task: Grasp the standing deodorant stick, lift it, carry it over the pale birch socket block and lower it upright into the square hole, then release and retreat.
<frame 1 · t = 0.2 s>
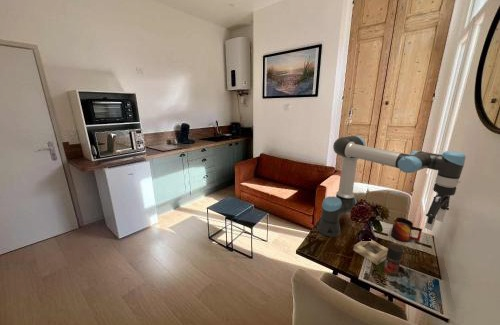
hand: (433, 224, 100), 27 cm above the table, fingers open, 13 cm apart
socket block: (371, 252, 120), on the table
deodorant: (390, 272, 107), on the table
mug: (402, 238, 134), on the table
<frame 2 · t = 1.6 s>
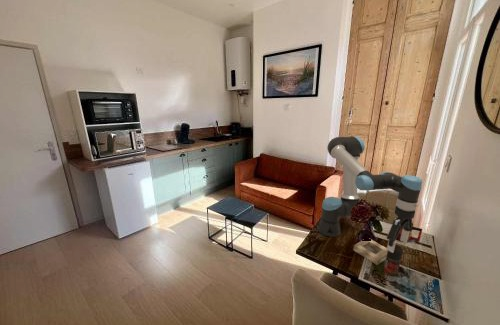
hand: (396, 246, 102), 16 cm above the table, fingers open, 13 cm apart
nothing on the table moved.
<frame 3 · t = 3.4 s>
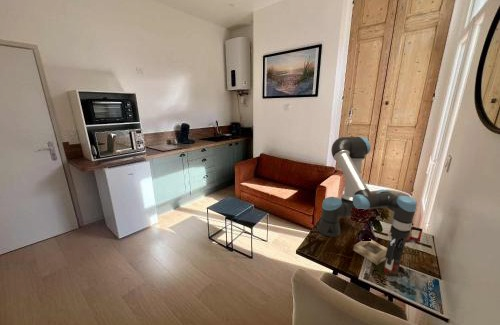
hand: (391, 265, 106), 4 cm above the table, fingers closed on deodorant, 6 cm apart
deodorant: (390, 272, 107), on the table, touching gripper
everything else where it was.
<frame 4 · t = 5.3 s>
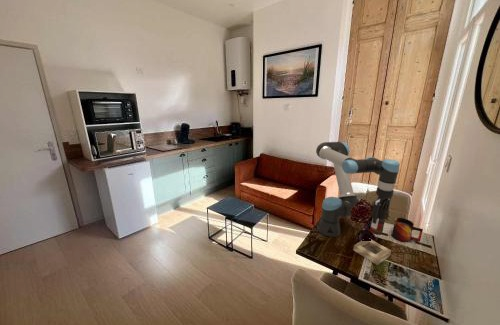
hand: (377, 225, 115), 18 cm above the table, fingers closed on deodorant, 6 cm apart
deodorant: (375, 232, 116), point 14 cm above the table, touching gripper
everything else where it was.
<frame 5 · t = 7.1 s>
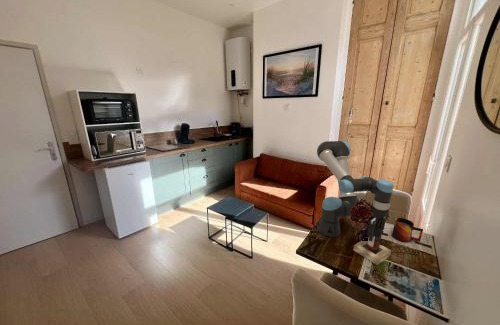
hand: (373, 243, 118), 7 cm above the table, fingers closed on deodorant, 6 cm apart
deodorant: (372, 249, 119), point 3 cm above the table, touching gripper
everything else where it was.
when the fingers open (5 cm above the table, at t = 7.7 s): deodorant drops 1 cm, resting on socket block.
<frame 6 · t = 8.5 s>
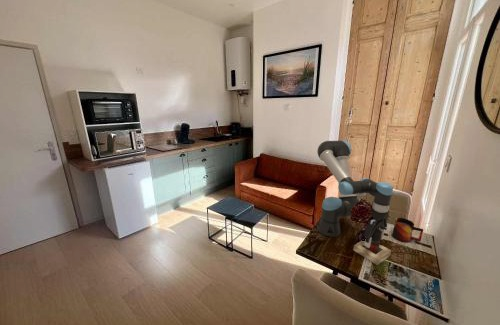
hand: (373, 242, 118), 7 cm above the table, fingers open, 13 cm apart
deodorant: (371, 252, 120), resting on socket block
everything else where it was.
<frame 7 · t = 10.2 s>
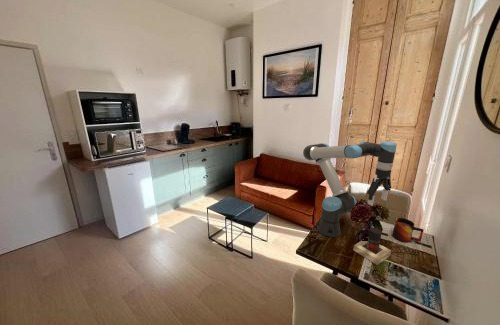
hand: (377, 202, 123), 28 cm above the table, fingers open, 13 cm apart
nothing on the table moved.
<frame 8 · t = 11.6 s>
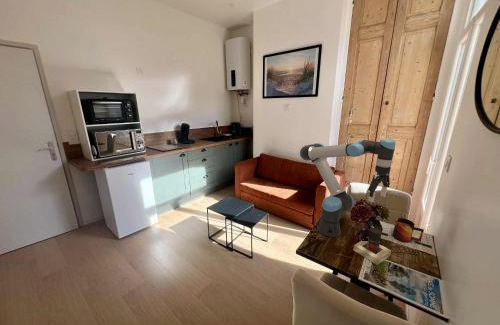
hand: (376, 198, 125), 29 cm above the table, fingers open, 13 cm apart
nothing on the table moved.
at the end: deodorant 0.0 cm off-centre on the socket block, point 0.0 cm above the socket block's base; deodorant tilted 0°; the gripper is holding nothing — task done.
